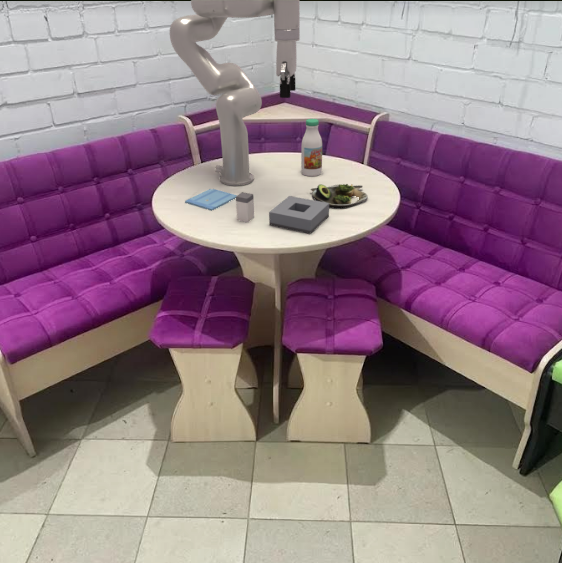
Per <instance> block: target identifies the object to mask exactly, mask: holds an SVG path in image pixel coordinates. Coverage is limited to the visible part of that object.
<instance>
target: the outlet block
mask: <svg viewBox="0 0 562 563" xmlns="http://www.w3.org/2000/svg"><path fill="white" fill-rule="evenodd" d="M329 216H330V207H329V203H326V202H320V201H316V200H315V199H310V198H309V199H308V198H302V197H298V196H292V195H288V196H287V197H286V198H284V200H282V201H281V202H279V203H278V204H277V205H276V206H274V207H273V208H272V209H271V210H269V211H268V222H269V223H268V224H269V226H270V227H275V228H281V229H286V230H290V231H294V232H300V233H303V234H304V233H305V234H309V235H310V234H313V232H314V231H315V230H316V229H317V228H318V227H319V226H321V224H323V223H324V222H325V220H327V218H329Z"/></svg>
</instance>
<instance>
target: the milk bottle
mask: <svg viewBox="0 0 562 563" xmlns="http://www.w3.org/2000/svg"><path fill="white" fill-rule="evenodd" d="M319 124H320V122H319V119H317V118H308V119H306V120H305V127H306V129H305V131H304V132H305V133H304V134H303V137H302V140H301V158H300V160H301V161H300V162H301V163H300V165H301V166H300V168H301V170H300V172H301V174H302V175H303V176H307V177H316V176H320V175H321V174H322V172H323V171H322V170H323V140H322V136H321V134H320V132H319Z"/></svg>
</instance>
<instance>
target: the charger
mask: <svg viewBox="0 0 562 563" xmlns="http://www.w3.org/2000/svg"><path fill="white" fill-rule="evenodd" d="M254 202H255V201H254V193H250V192H249V193H248V192H244V191H242V192H240V193H239V194H237V196H236V199H235V207H236V220H237V221H238V220H240V221H239V222H243V221H244V222H243V223H250V222H251V221H252V220H253V219H255V203H254ZM250 220H251V221H250Z"/></svg>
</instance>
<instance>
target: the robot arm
mask: <svg viewBox="0 0 562 563" xmlns="http://www.w3.org/2000/svg"><path fill="white" fill-rule="evenodd" d="M190 5H191V8H192V10H193V12H194V13H195V14H190V15H184V16H179V17H178V18H175V20H173V21H172V22H171V24H170V27H169V39H170V43H171V45H172V48H173V50H174V52H175V53H176V55H177V56H178V57H179V58H180V59H181V61H183V63H185V64H186V66H187V67H188V68H189V69H190V71H191V72H192V74H193V75H194V76H195V78H196V79H197V80H198V82H199V83H200V85H201V86H202V87H203V88H204V90H205V91H206V92H207V93H208V94H209V95H212V96H217V95H218V98H217V99H216V102H215V111H216V115H217V120H218V122H219V123H218V124H219V129H220V141H221V142H220V143H221V155H222V156H221V158H222V165H220V164H217V165H216V166H215V170H214V171H215V173H220V176H219V182H220V183H221V184H223V185H226V186H231V187H232V186H234V187H236V186H237V187H239V186H244V185H245V186H246V185H248V184H251V183H252V182H254V179H255V176H254V174H253V173H252V172H250V154H249V152H250V151H249V137H248V136H249V135H248V134H249V133H248V132H249V131H248V129H247V125H246V123H245V122H244V119H243V118H246V117H248V116H252V115H254V114H256V113H258V112H259V111H260V109H261V107H262V102H263V100H262V96H261V94H260V92H259V90H258V89H257V87H256V86H255V85H254V84H253V82H252V80H251V79H250V78H249V77H248V76H247V74H246V73H245V71H244V69H242V68H241V67H240V66H239V65H238V64H236V63H234V62H225V63H217V61H216V60H215V59H214V58H213V56H212V55H211V53H210V52H209V51H208V50H207V49H205V48H204V47H202V46H201V45H199V44H198V43H197V42H204V41H209V40H212V39H214V38H215V37H216V36H218V34H219V32H220V31H221V29H222V28H223V25H224V24H225V22H226V20H228V18H234V19H239V18H241V19H243V18H244V19H246V18H248V19H249V18H252V19H253V18H259V17H264V16H265V17H266V16H271V15H273V23H274V25H273V26H274V27H273V28H274V30H273V31H274V42H276V56H275V57H276V65H275V66H276V67H275V68H276V70H275V71H276V72H275V73H276V76H277V77H279V97H280V99H285V98H286V99H290V98H291V92H293V91H294V92H295V91H296V71H297V42H298V41H300V40H301V39H300V38H301V36H300V21H301V20H300V0H190Z"/></svg>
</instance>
